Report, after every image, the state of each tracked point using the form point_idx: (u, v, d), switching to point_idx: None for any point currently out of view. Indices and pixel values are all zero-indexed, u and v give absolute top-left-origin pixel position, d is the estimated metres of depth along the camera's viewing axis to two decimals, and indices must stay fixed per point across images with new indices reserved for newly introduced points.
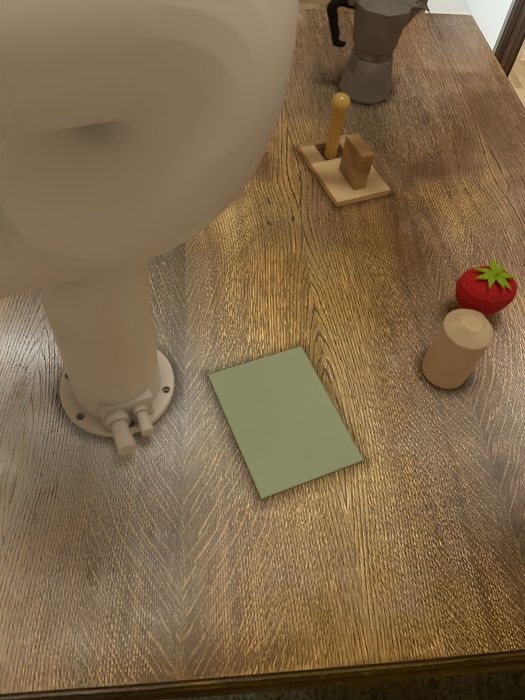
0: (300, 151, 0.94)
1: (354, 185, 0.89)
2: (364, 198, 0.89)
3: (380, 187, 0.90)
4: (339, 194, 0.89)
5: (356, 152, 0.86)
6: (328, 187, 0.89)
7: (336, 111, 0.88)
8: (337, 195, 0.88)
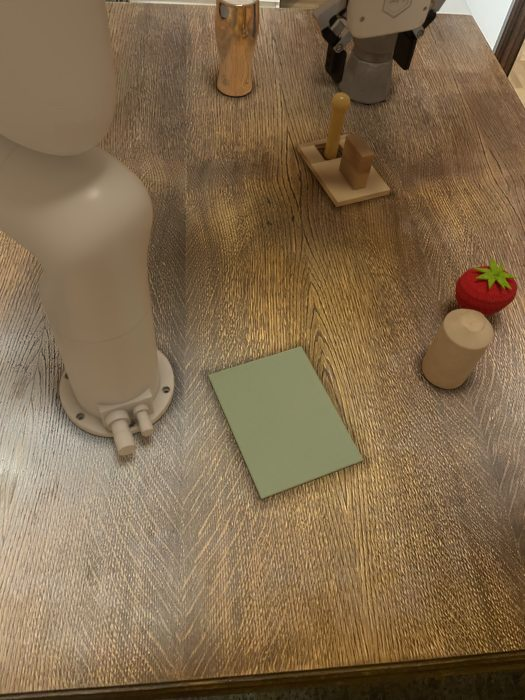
0: (300, 151, 0.94)
1: (354, 185, 0.89)
2: (364, 198, 0.89)
3: (380, 187, 0.90)
4: (339, 194, 0.89)
5: (356, 152, 0.86)
6: (328, 187, 0.89)
7: (336, 111, 0.88)
8: (337, 195, 0.88)
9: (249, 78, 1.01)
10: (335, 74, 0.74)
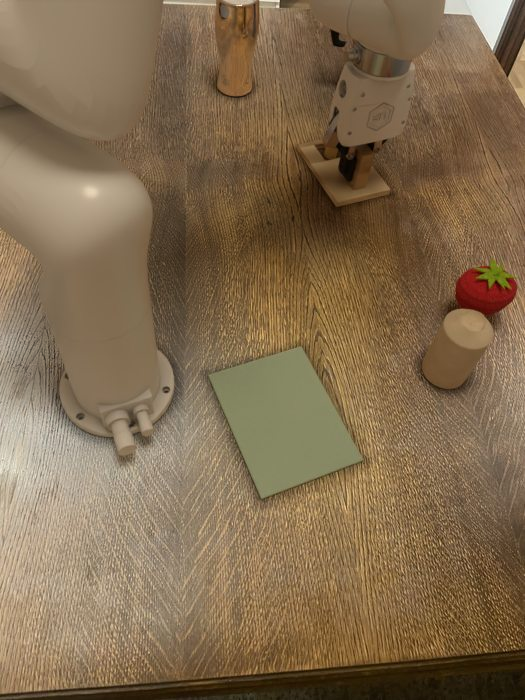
0: (300, 151, 0.94)
1: (354, 185, 0.89)
2: (364, 198, 0.89)
3: (380, 187, 0.90)
4: (339, 194, 0.89)
5: (356, 152, 0.86)
6: (328, 187, 0.89)
7: None
8: (337, 195, 0.88)
9: (249, 78, 1.01)
10: (347, 174, 0.89)
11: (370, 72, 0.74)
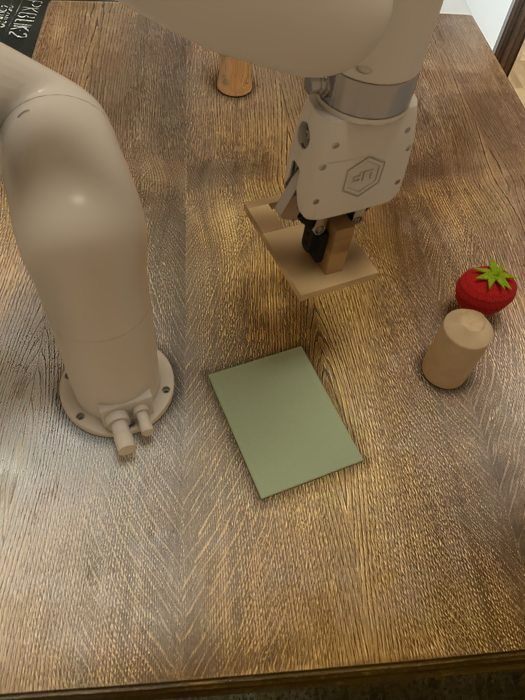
0: (248, 213, 0.65)
1: (326, 268, 0.60)
2: (341, 287, 0.61)
3: (363, 270, 0.62)
4: (304, 282, 0.60)
5: (327, 223, 0.57)
6: (288, 270, 0.61)
7: None
8: (301, 284, 0.60)
9: (249, 78, 1.01)
10: (314, 253, 0.60)
11: (347, 111, 0.45)
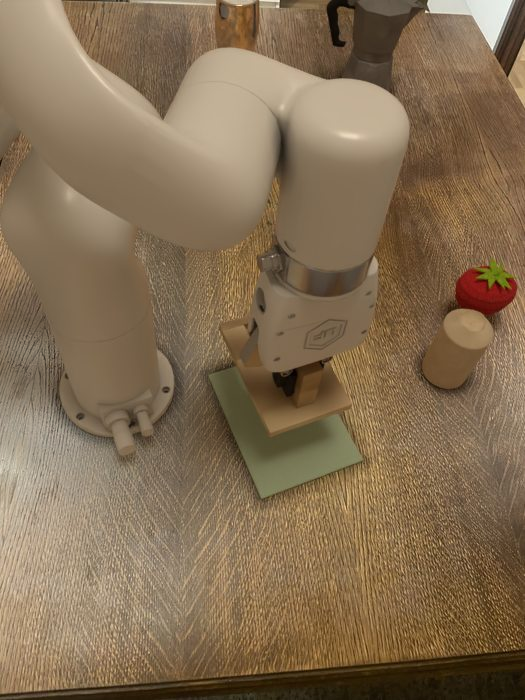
0: (223, 335, 0.65)
1: (297, 403, 0.59)
2: (312, 420, 0.60)
3: (336, 401, 0.60)
4: (274, 417, 0.59)
5: None
6: (258, 404, 0.60)
7: None
8: (271, 419, 0.59)
9: None
10: (285, 387, 0.59)
11: (300, 289, 0.44)
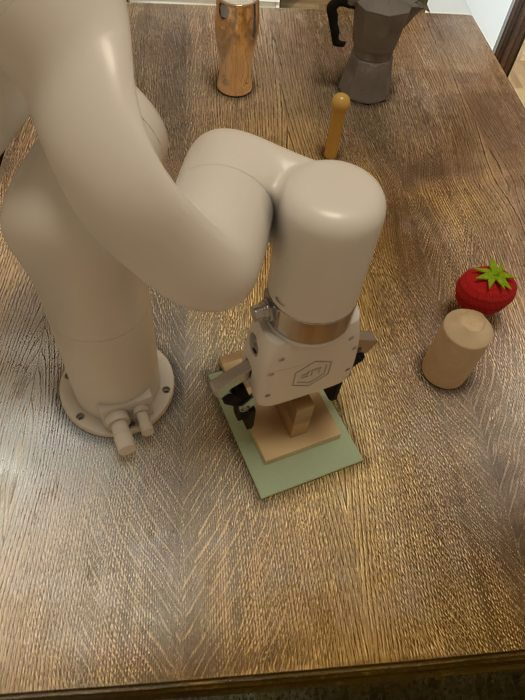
0: (222, 368, 0.70)
1: (290, 433, 0.64)
2: (304, 449, 0.65)
3: (327, 431, 0.66)
4: (269, 446, 0.64)
5: (289, 400, 0.61)
6: (255, 433, 0.65)
7: (336, 111, 0.88)
8: (266, 448, 0.64)
9: (249, 78, 1.01)
10: (245, 420, 0.62)
11: (289, 337, 0.49)
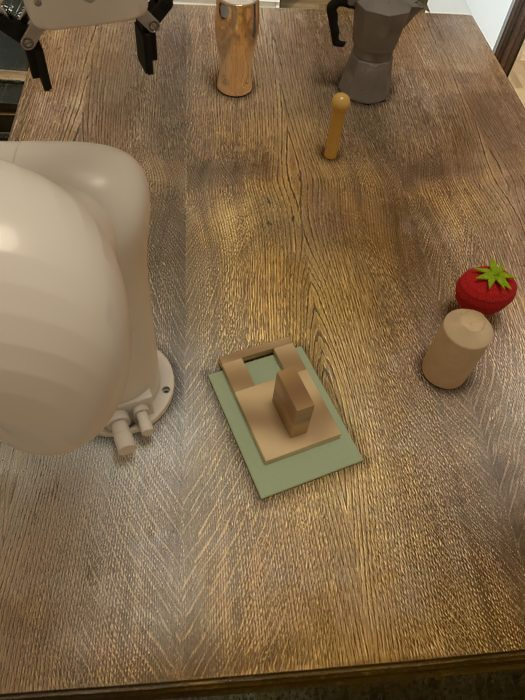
0: (222, 368, 0.70)
1: (290, 433, 0.64)
2: (304, 449, 0.65)
3: (327, 431, 0.66)
4: (269, 446, 0.64)
5: (289, 400, 0.61)
6: (255, 433, 0.65)
7: (336, 111, 0.88)
8: (266, 448, 0.64)
9: (249, 78, 1.01)
10: (41, 79, 0.55)
11: None
